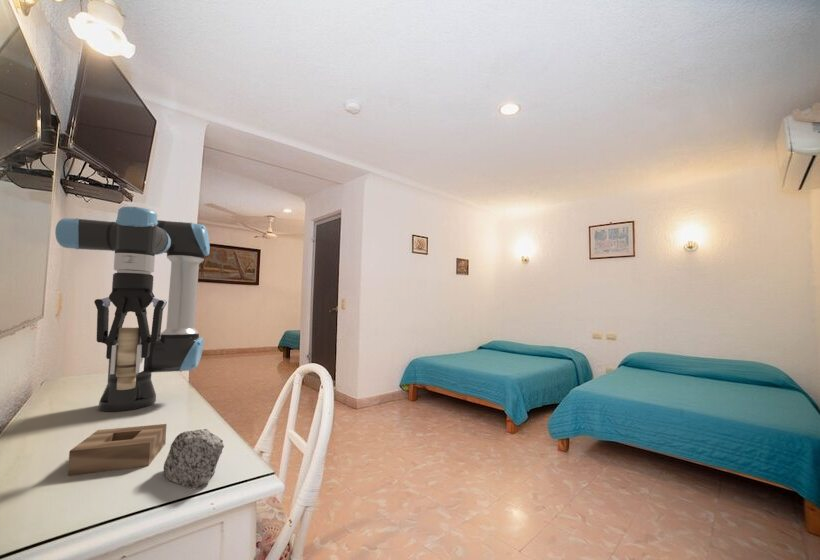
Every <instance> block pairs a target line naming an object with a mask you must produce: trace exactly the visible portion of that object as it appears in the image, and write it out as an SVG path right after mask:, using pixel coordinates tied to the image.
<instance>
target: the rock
mask: <svg viewBox="0 0 820 560" xmlns="http://www.w3.org/2000/svg"><path fill="white" fill-rule="evenodd" d="M224 448H225V445H224V441H223V439H222V438H220V437H219V436H218V435H216V434H214V433H212V432H211V431H210V430H209V429H207V428H204V429H195V430H190V431H189V430H188V431H186V430H185V431H182V432H180V433H179V434H178V435H177V436H176V437H174V439H173V441H172V443H171V444H170V449H169V452H168V454H167V456H166V459H165V461H164V463H163V473H164V475H165V477H166V478H167V479H168V480H169V481H171V482H173V483H176V484H177V485H181V486H183V487H184V488H189V489H192V490H193V489H197V488H198V487H200V486H202V485H204V484H205V485H206V484H208V482H210V481H211V480H212V479H213V476H214V475H215V474H216V468H217V467H218V465H217V464H218V462H219V459H220V456H221V454H222V453H223V449H224Z"/></svg>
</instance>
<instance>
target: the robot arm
mask: <svg viewBox="0 0 820 560" xmlns="http://www.w3.org/2000/svg"><path fill="white" fill-rule="evenodd" d="M116 217H117V218H116V220H115V221H110V220H109V221H107V220H96V219H95V220H94V219H87V218H85V219H82V218H78V217H76V218H70V217H68V218H67V217H65V218H62V219H60V220H58V222H57V223H56V226H55V230H54V233H55V239H56V242H57V243H58V244H59V245H60V247H62V248H65V249H74V250H75V249H76V250H89V251H90V250H91V251H109V252H110V251H111V252H114V257H113V259H114V260H113V270H114V271H116V272H114V273H113V274H112V281H111V282H112V285H111V291H110V294H109V296H107V297H104V298H97V299H95V300H94V305H95V307H96V309H97V314H96V318H97V319H96V342H97V343H102V344H105V345H106V356H105V358H106V360H108V370H107V371H108V373H107V383H106V386H105V388H104V390H103V393H102V395H101V397H100V399H99V401H98V410H99V411H102V412H123V411H129V410H135V409H141V408H144V407H147V406H150V405H153V404H155V403H156V401H157V393H156V391H155V387H154V385H153V381H152V373H169V372H171V373H172V372H180V373H181V372H185V371H186V372H187V371H188V372H189V371H193V370H195V369H196V368H198V366H199V363H200V361H201V358H202V355H203V350H204V343H205V342H204V338H203V337H201V336H200V332H199V331H198V330H197V329H196V328H195V327H196V326H195V325H196V314H197V312H196V311H197V300H198V298H197V296H198V283H199V272H200V271H199V269H200V264H201V263H203V262H204V261H205V257H207V256H209V255H210V250H211V248H210V245H211V244H210V237H209V231H208V229H207V227H206V226H205V225H203V224H201V223H200V224H199V223H193V222H183V221H182V222H181V221H172V220H171V221H169V220H159V219H158V215H157V212H155V211H154V210H152V209H149V208H144V207H138V206H121V207H120V208H119V209H118V211H117V216H116ZM164 253H166V258H167V260H169V262H171V263H170V264H171V265H170V277H169V289H168V290H169V291H168V303H167V300H166V299H163V300H162V299H160V298H157V297H156V296H155V295H154V292H153V289H154V275H153V274H152V273H154V272H155V257H156V255H157V256H158V255H162V254H164ZM111 303H112V305H113V306H114V307H115V312H114V318H113V320H112V323H111V327H110V330H109V321H110V319H109V315H110V308H109V307H110V306H111ZM151 303H152V307H153V308H154V309H153V315H152V324H151V331H150V327H149V321H148V316H147V314H148V313H147V308H148V306H150V305H151ZM166 305H167V313H166V314H167V315H166V328H165V330H163V331H161V330H162V323H163V315H164V314H163V313H164V308H166ZM129 312H132V313H135V317H136V321H137V325H138V326H137V327H139V332H140V344H139V345H137V357H136V372H135V373H138V375H136V385H135V388H133V389H128V390H117V377H116V365H117V351H118V337H119V328H123V325H124V323H125V319H126V317H127V315H128V313H129Z"/></svg>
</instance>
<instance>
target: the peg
mask: <svg viewBox="0 0 820 560" xmlns="http://www.w3.org/2000/svg"><path fill="white" fill-rule="evenodd" d="M139 344H140V332H139V327H138V326H127V327H126V326H125V327H123V326H122V328H119V337H118V351H117V365H116V377H117V390H128V389H133V388H135V385H136V375H138V373H135V372H136V357H137V345H139Z"/></svg>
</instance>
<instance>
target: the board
mask: <svg viewBox="0 0 820 560" xmlns="http://www.w3.org/2000/svg"><path fill="white" fill-rule="evenodd" d="M167 426H168V425H167V423H160V424H152V425H150V424H149V425H137V426H127V427H116V428H104V429H97V430H95V431H94V432H93V433H91V435H89V436H88V437H86V438H85V439H84V440H82V441H81V442H79V443H78V444H76V446H74V447H73V448H72V449H70V450H69V454H68V467H67V476H76V475H83V474H91V473H99V472H108V471H115V470H116V471H117V470H124V469H131V468H133V469H134V468H140V467H149V466H150V464H152V462H153V461H154V460H155V459H156V457H157V455H158V454H159V453H160V452H161V450H162V449H163V448H164V446H165V445H166V438H167Z"/></svg>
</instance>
